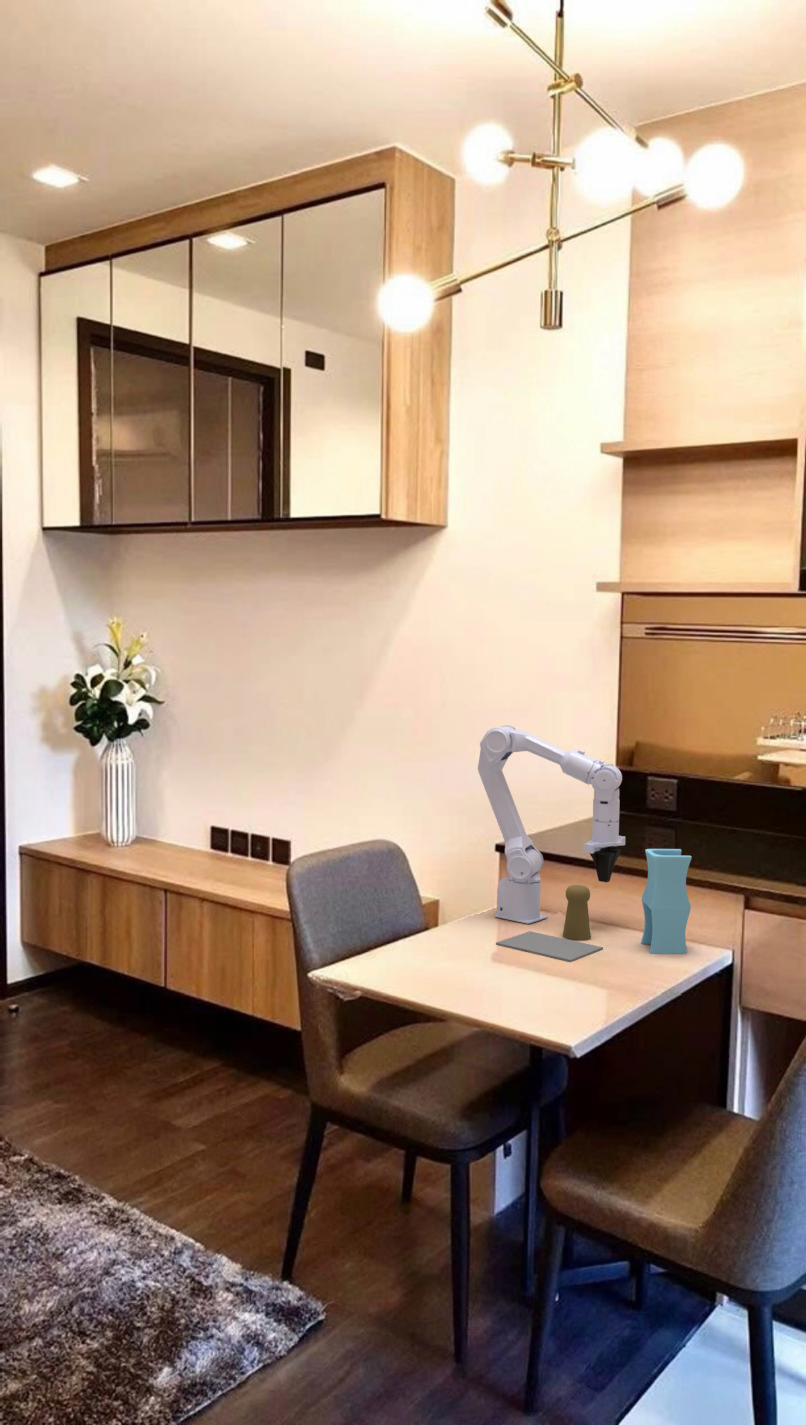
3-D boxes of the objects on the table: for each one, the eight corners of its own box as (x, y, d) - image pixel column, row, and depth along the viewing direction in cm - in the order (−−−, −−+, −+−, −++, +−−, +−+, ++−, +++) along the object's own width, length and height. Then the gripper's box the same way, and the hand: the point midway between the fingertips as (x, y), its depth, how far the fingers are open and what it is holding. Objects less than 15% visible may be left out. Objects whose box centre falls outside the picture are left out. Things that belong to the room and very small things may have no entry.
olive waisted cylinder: (557, 934, 234) (559, 883, 234) (583, 932, 236) (584, 882, 235) (570, 941, 229) (571, 889, 228) (596, 939, 230) (597, 888, 230)
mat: (495, 944, 225) (495, 942, 225) (529, 933, 235) (529, 931, 235) (570, 962, 214) (570, 960, 214) (602, 949, 223) (603, 947, 223)
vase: (688, 954, 221) (692, 856, 220) (650, 953, 221) (653, 856, 219) (677, 943, 229) (680, 849, 227) (640, 943, 228) (643, 848, 227)
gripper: (605, 826, 231) (603, 889, 232) (638, 818, 242) (636, 879, 243) (576, 822, 236) (574, 884, 236) (610, 815, 247) (608, 874, 247)
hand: (604, 881), depth 240 cm, fingers closed
